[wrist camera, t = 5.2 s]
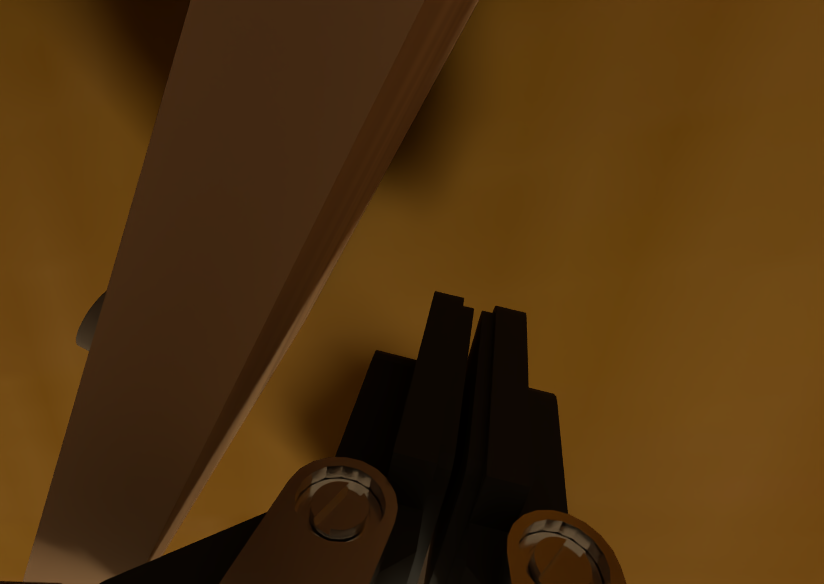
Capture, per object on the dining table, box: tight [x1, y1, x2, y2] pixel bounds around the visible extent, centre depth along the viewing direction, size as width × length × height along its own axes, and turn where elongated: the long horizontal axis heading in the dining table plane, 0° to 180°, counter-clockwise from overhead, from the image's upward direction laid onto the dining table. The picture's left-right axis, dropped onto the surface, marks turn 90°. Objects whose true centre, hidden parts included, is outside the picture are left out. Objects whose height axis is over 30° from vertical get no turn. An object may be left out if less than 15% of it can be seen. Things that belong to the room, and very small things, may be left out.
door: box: [23, 0, 479, 584], centre depth 8 cm, size 3×13×9 cm, turn 151°
